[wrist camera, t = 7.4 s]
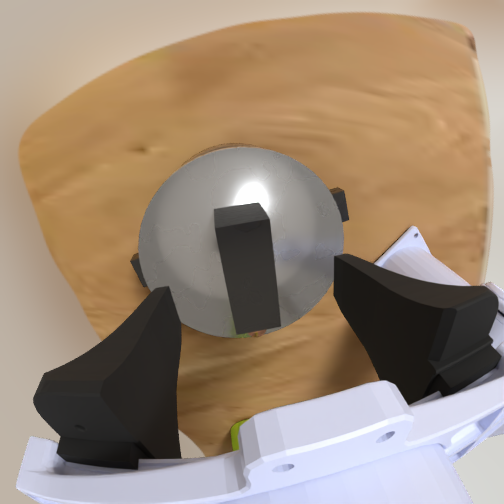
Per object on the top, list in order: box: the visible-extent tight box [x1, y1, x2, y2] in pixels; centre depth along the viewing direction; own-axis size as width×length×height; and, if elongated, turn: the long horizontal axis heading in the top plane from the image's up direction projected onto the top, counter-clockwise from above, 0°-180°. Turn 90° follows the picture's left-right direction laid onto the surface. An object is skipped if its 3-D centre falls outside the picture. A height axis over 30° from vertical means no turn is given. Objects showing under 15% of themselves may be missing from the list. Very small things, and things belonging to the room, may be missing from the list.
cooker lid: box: [138, 146, 344, 338], centre depth 16 cm, size 12×12×4 cm
